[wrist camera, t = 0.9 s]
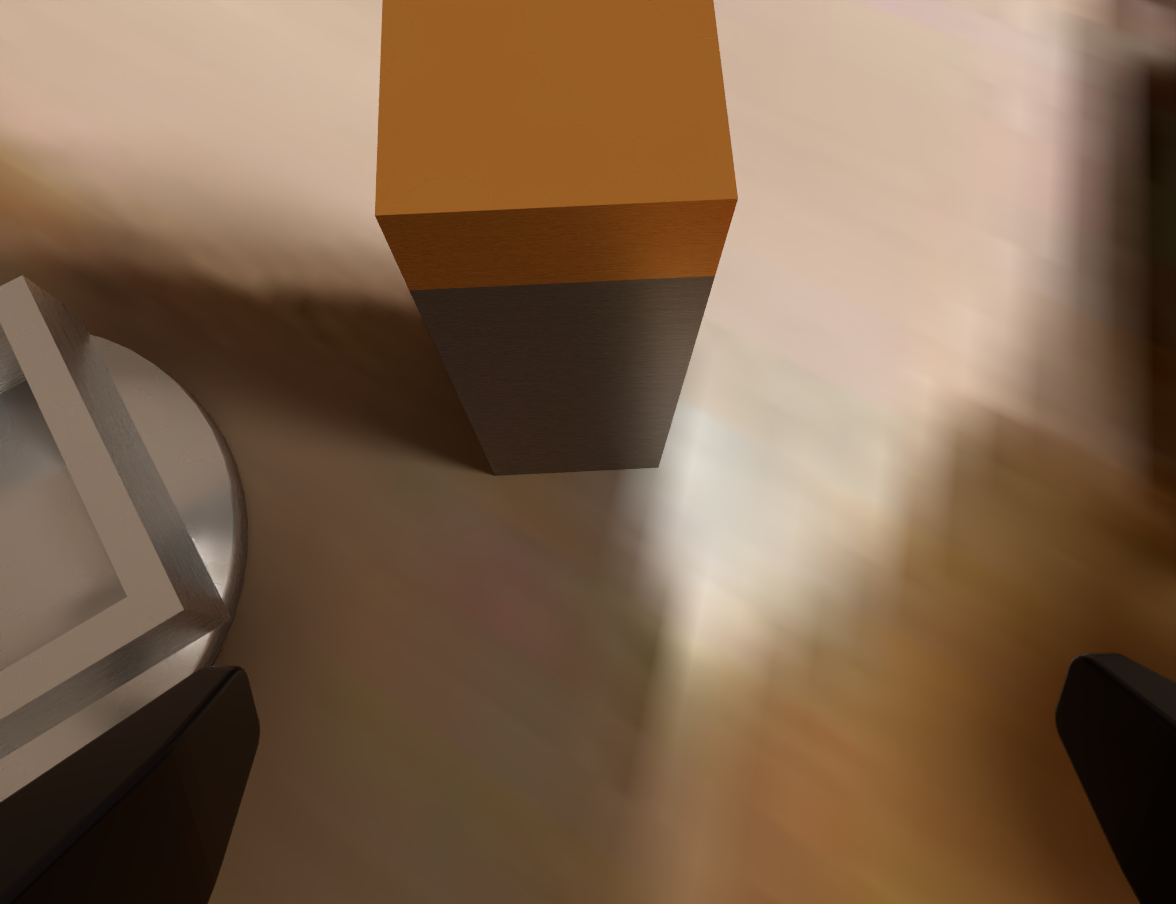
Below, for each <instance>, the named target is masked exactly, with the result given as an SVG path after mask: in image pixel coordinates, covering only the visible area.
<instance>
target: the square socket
mask: <svg viewBox="0 0 1176 904" xmlns="http://www.w3.org/2000/svg"><path fill="white" fill-rule="evenodd" d="M247 535H248V521H247V512H246V504H245V496H244V490H243V487H242V483H241V479H240V476H239V472H238V468H237V465H236V462H235V460H234V458H233V455H232V453H231V451H230V448H229V446H228V444H227V442H226V439H225V437H224V436H223V434H222V433H221V431H220V430H219V428H218V426H217V425H216V423H215V422H214V420H213V419H212V417H211V415H210V414H209V413H208V412H207V411H206V410H205V408H204V407H203V406H202V405H201V404H200V403H199V402H198V400H197V399H196V398H195V397H194V396H193V395H192V394H191V393H190V392H189V391H188V390H186V389H185V388H184V387H183V386H182V385H180V384H179V383H178V382H177V381H176V380H174V379H173V378H172V377H171V376H169V375H168V374H167V373H165V372H164V371H163V370H161V369H160V368H159V367H157V366H156V365H155V364H153V363H151V362H150V361H148V360H146V359H145V358H143V357H142V356H140V355H138V354H137V353H135V352H133V351H132V350H130V349H128V348H125V347H123V346H121V345H118V344H116V343H114V342H111V341H109V340H107V339H104V338H101V337H97V336H94V335H90V334H89V332H88V330H87V328H86V326H85V324H84V322H83V320H82V318H81V317H80V316H78V315H77V314H75V313H74V312H73V311H71V310H70V309H69V308H67V307H66V306H64V305H63V304H62V303H60V302H59V301H57V300H56V299H55V298H53V297H52V296H51V295H49V294H48V293H46V292H45V291H44V290H42V289H41V288H40V287H38V286H37V285H35V284H34V283H33V282H31V281H30V280H28V279H27V278H26V277H24V276H23V275H22V276H20V277H18V278H16V279H14V280H12V281H10V282H8V283H6V284H4V285H2V286H0V802H1V801H3V800H4V799H6V798H7V797H9V796H10V795H12V794H13V793H15V792H16V791H18V790H19V789H21V788H22V787H24V786H25V785H27V784H28V783H30V782H31V781H33V780H34V779H36V778H37V777H39V776H40V775H42V774H43V773H45V772H46V771H48V770H49V769H51V768H52V767H53V766H55V765H56V764H58V763H59V762H61V761H62V760H64V759H65V758H67V757H68V756H70V755H71V754H73V753H74V752H76V751H77V750H79V749H80V748H82V747H83V746H85V745H86V744H88V743H89V742H91V741H92V740H94V739H95V738H97V737H98V736H100V735H101V734H103V733H104V732H106V731H107V730H109V729H110V728H112V727H113V726H115V725H116V724H118V723H119V722H121V721H122V720H124V719H125V718H127V717H128V716H130V715H131V714H133V713H134V712H136V711H137V710H139V709H140V708H142V707H143V706H145V705H146V704H148V703H149V702H150V701H152V700H153V699H155V698H156V697H158V696H159V695H161V694H162V693H164V692H165V691H167V690H168V689H170V688H171V687H173V686H174V685H176V684H177V683H179V682H180V681H182V680H183V679H185V678H186V677H188V676H189V675H191V674H192V673H194V672H195V671H197V670H199V669H200V668H203V667H207V666H212V665H213V663H214V661H215V660H216V658H217V656H218V654H219V652H220V650H221V648H222V645H223V643H224V640H225V638H226V636H227V633H228V631H229V628H230V626H231V623H232V621H233V618H234V615H235V611H236V608H237V604H238V600H239V597H240V593H241V589H242V586H243V579H244V572H245V565H246V558H247Z"/></svg>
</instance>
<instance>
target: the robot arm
mask: <svg viewBox="0 0 1176 904" xmlns="http://www.w3.org/2000/svg"><path fill="white" fill-rule="evenodd" d="M1055 724H1056V728H1057V732H1058V735H1059V737H1060V739H1061V742H1062V744H1063V746H1064V748H1065V750H1066V753H1067V755H1068V757H1069V759H1070V761H1071V763H1072V766H1073V768H1074V770H1075V772H1076V774H1077V776H1078V779H1079V781H1080V783H1081V785H1082V787H1083V789H1084V792H1085V794H1086V796H1087V798H1088V800H1089V802H1090V805H1091V807H1092V809H1093V811H1094V813H1095V815H1096V818H1097V820H1098V822H1099V824H1100V826H1101V828H1102V831H1103V833H1104V835H1105V837H1106V839H1107V842H1108V844H1109V846H1110V848H1111V850H1112V852H1113V854H1114V856H1115V858H1116V860H1117V862H1118V864H1119V866H1120V868H1121V870H1122V872H1123V874H1124V876H1125V877H1126V879H1127V881H1128V883H1129V885H1130V887H1131V888H1132V890H1133V892H1134V894H1135V896H1136V897H1137V899H1138V901H1139V903H1140V904H1176V683H1175V682H1174V681H1172V680H1170V679H1168V678H1166V677H1164V676H1162V675H1160V674H1158V673H1156V672H1154V671H1152V670H1150V669H1148V668H1146V667H1144V666H1142V665H1140V664H1138V663H1137V662H1135V661H1133V660H1131V659H1129V658H1127V657H1125V656H1123V655H1120V654H1116V653H1082V654H1079V655H1076V656H1075V657H1074V658H1073V659H1072V660H1071V662H1070V665H1069V668H1068V671H1067V674H1066V677H1065V681H1064V684H1063V687H1062V690H1061V694H1060V697H1059V700H1058V703H1057V706H1056V711H1055ZM259 737H260V724H259V719H258V715H257V711H256V707H255V703H254V699H253V695H252V691H251V687H250V683H249V679H248V676H247V674H246V672H245V671H244V669H243V668H241V667H239V666H207V667H203V668H200V669H199V670H197V671H195V672H194V673H192V674H191V675H189V676H188V677H186V678H185V679H183V680H182V681H180V682H179V683H177V684H176V685H174V686H173V687H171V688H170V689H168V690H167V691H165V692H164V693H162V694H161V695H159V696H158V697H156V698H155V699H153V700H152V701H150V702H149V703H148V704H146V705H145V706H143V707H142V708H140V709H139V710H137V711H136V712H134V713H133V714H131V715H130V716H128V717H127V718H125V719H124V720H122V721H121V722H119V723H118V724H116V725H115V726H113V727H112V728H110V729H109V730H107V731H106V732H104V733H103V734H101V735H100V736H98V737H97V738H95V739H94V740H92V741H91V742H89V743H88V744H86V745H85V746H83V747H82V748H80V749H79V750H77V751H76V752H74V753H73V754H71V755H70V756H68V757H67V758H65V759H64V760H62V761H61V762H59V763H58V764H56V765H55V766H53V767H52V768H51V769H49V770H48V771H46V772H45V773H43V774H42V775H40V776H39V777H37V778H36V779H34V780H33V781H31V782H30V783H28V784H27V785H25V786H24V787H22V788H21V789H19V790H18V791H16V792H15V793H13V794H12V795H10V796H9V797H7V798H6V799H4V800H3V801H1V802H0V904H208V901H209V899H210V896H211V894H212V891H213V889H214V886H215V883H216V880H217V877H218V874H219V871H220V868H221V865H222V862H223V859H224V856H225V853H226V849H227V846H228V843H229V839H230V836H231V833H232V830H233V826H234V823H235V820H236V816H237V813H238V810H239V807H240V803H241V800H242V797H243V793H244V790H245V787H246V784H247V780H248V777H249V774H250V770H251V767H252V764H253V760H254V757H255V754H256V751H257V747H258V743H259Z"/></svg>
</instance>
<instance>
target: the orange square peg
mask: <svg viewBox="0 0 1176 904" xmlns="http://www.w3.org/2000/svg"><path fill="white" fill-rule="evenodd" d="M737 200H738V196H737V188H736V180H735V172H734V164H733V156H732V148H731V140H730V132H729V124H728V116H727V108H726V100H725V92H724V83H723V75H722V67H721V59H720V51H719V43H718V35H717V27H716V19H715V11H714V3H713V0H383V8H382V35H381V63H380V91H379V119H378V147H377V174H376V202H375V217H376V219H377V221H378V223H379V225H380V227H381V230H382V232H383V234H384V236H385V238H386V240H387V243H388V245H389V247H390V249H391V251H392V253H393V256H394V258H395V260H396V262H397V264H398V267H399V269H400V271H401V273H402V275H403V277H404V280H405V282H406V284H407V286H408V288H409V290H410V293H411V295H412V297H413V299H414V301H415V303H416V306H417V308H418V310H419V312H420V314H421V316H422V319H423V321H424V323H425V325H426V327H427V330H428V332H429V334H430V336H431V338H432V340H433V343H434V345H435V347H436V349H437V351H438V353H439V356H440V358H441V360H442V362H443V364H444V366H445V369H446V371H447V373H448V375H449V377H450V379H451V382H452V384H453V386H454V388H455V390H456V393H457V395H458V397H459V399H460V401H461V403H462V406H463V408H464V410H465V412H466V414H467V416H468V419H469V421H470V423H471V425H472V427H473V429H474V432H475V434H476V436H477V438H478V440H479V442H480V445H481V447H482V449H483V451H484V453H485V456H486V458H487V460H488V462H489V464H490V466H491V469H492V471H493V473H494V475H495V476H497V475H518V474H538V473H558V472H578V471H598V470H618V469H638V468H658V467H659V463H660V460H661V456H662V453H663V450H664V446H665V443H666V440H667V436H668V433H669V429H670V426H671V423H672V419H673V416H674V413H675V409H676V406H677V402H678V399H679V396H680V392H681V389H682V385H683V382H684V379H685V375H686V372H687V369H688V365H689V362H690V358H691V355H692V352H693V348H694V345H695V342H696V338H697V335H698V331H699V328H700V325H701V321H702V318H703V315H704V311H705V308H706V304H707V301H708V298H709V294H710V291H711V288H712V284H713V281H714V277H715V274H716V271H717V267H718V264H719V260H720V257H721V254H722V250H723V247H724V244H725V240H726V237H727V233H728V230H729V227H730V223H731V220H732V217H733V213H734V210H735V206H736V203H737Z"/></svg>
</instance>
